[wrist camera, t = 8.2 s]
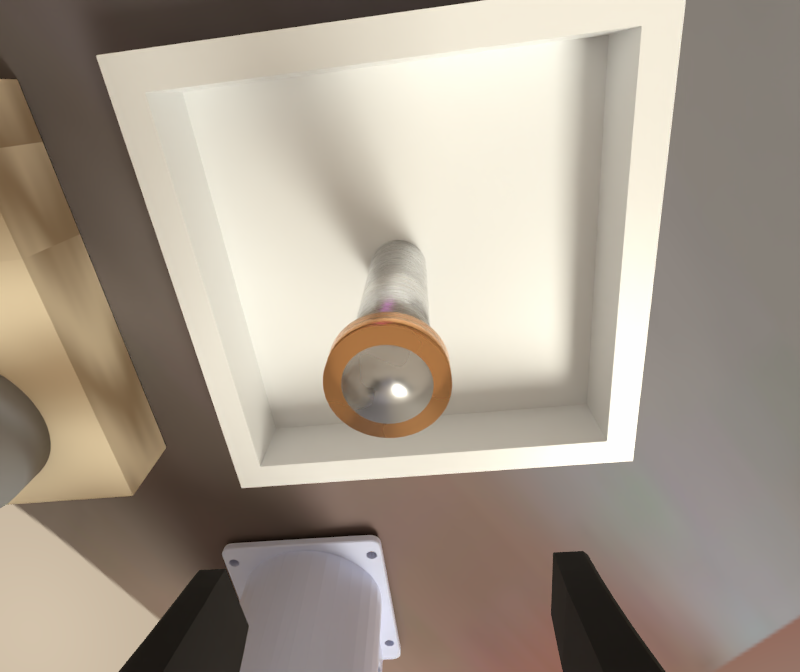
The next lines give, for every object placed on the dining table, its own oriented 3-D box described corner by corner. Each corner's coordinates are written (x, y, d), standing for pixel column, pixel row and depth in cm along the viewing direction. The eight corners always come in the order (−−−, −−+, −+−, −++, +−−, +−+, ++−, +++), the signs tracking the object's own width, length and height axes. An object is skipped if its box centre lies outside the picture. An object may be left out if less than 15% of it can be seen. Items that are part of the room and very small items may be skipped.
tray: (605, 413, 21) (632, 460, 19) (262, 440, 22) (241, 488, 20) (638, -8, 15) (688, -29, 12) (150, 60, 16) (95, 55, 13)
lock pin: (440, 298, 18) (457, 432, 11) (366, 306, 19) (335, 443, 12) (433, 223, 17) (446, 320, 10) (353, 233, 17) (310, 335, 10)
